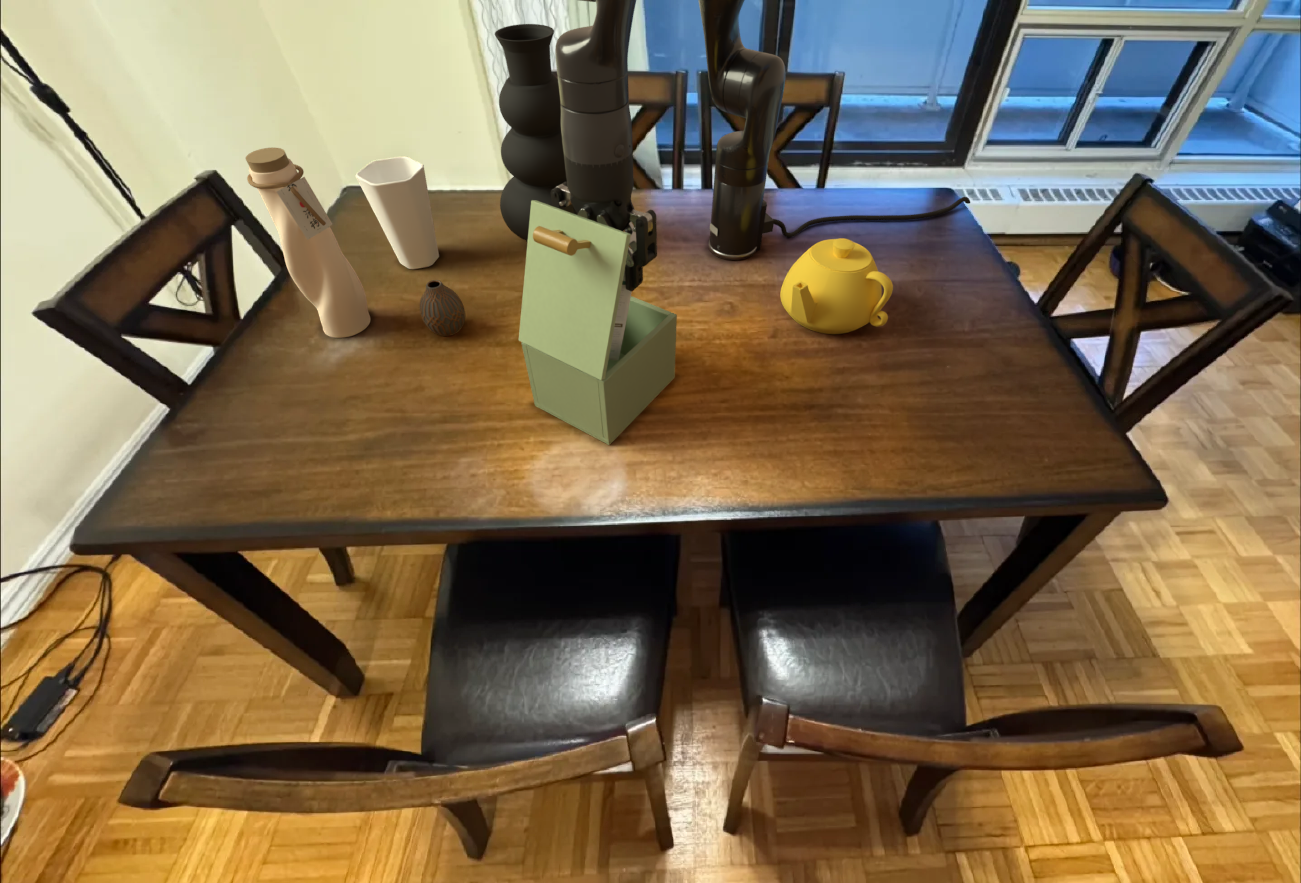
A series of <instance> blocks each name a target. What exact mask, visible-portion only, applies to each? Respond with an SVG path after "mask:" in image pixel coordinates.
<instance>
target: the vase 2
mask: <svg viewBox="0 0 1301 883" xmlns="http://www.w3.org/2000/svg"><path fill="white" fill-rule="evenodd" d="M554 34H555V30H554V28H553V27H551V26H549V25H544V24H540V23H539V24H538V23H520V24H513V25H512V24H511V25H507V26H504V27H501V28H499V29H497V30H496V31H495V32H494V36H495V38H496V39H497V41H498V43H499V44H500V46H501V47H502V50H503V53H504V58H505V61H506V67H507V71H508V77H507V78H506V79H505V81H504V84H503V86H502V87H501V90H500V92H499V98H498V106H499V111H500V115H501V116H502V118H503V120H504V121H505V122H506V124H507V125H508V126H509V127H510V129H509V131H508V132H507V133H506V134H505V136H504V138H503V140H502V143H501V145H500V146H501V147H500V157H501V161H502V163H503V165H504V168H505V169H506V170H507V172H509V174H511V175H512V177H511V178H510V179H509V180H508V181H507V183H506V184H505V186H504V188H503V189H502V191H501V194H500V200H499V208H500V213H501V214H500V215H501V216H502V219H503V221H504V223H505V225H506V227H507V228H508V229H509V230H510V231H511V232H512V233H513V234H514V235H515V236H517V237H518V238H520V239H522V240H524V241H525V242H526V243H528V232H529V221H530V210H531V201H532V200H536V201H539V202H542V203H545V204H547V205H550V206H552V200H551V190H552V189H554V188H555V187H557V186H559V185H560V184H562V183H564V182H567V178H566V169H565V160H564V152H563V143H562V134H561V103H560V94H559V85H558V77H557V76H556V75H554V74H552V60H551V59H552V58H551V43H552V40H553V37H554ZM573 213H574V214H576V215H578V214H577V212H576V210H575V209H574V207H573Z"/></svg>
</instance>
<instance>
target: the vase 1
mask: <svg viewBox="0 0 1301 883" xmlns="http://www.w3.org/2000/svg"><path fill="white" fill-rule="evenodd" d="M419 313H420V317H421V319H422V321H423V324H424V325H425V326H426V328H427V329H428V330H429V331H430V332H432V333H434V334H436V335H438V336H441V337H450V336H453V335H456V334H457V333H459V332H460V330H461V329H462V328H463V327H464V325H465V321H466V309H465V305H464V302H463V301H462V299H461V297H460V296H459V295H458V293H457V292H456V291H454V290H453V289H452V288H450V287H448V286H447V285H445V284H444V283H443V281H441V280H439V279H433V280H430V281H428V282H427V283H426V284H425V289H424V291H423V294H422V295H421V298H420V300H419Z"/></svg>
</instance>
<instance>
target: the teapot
mask: <svg viewBox="0 0 1301 883" xmlns="http://www.w3.org/2000/svg"><path fill="white" fill-rule="evenodd" d="M871 253H872V252H870V251H869V250H868V249H867V248H866V247H865V246H864V245H863V246H862V245H861V244H859V243H857V242H855V241H853V240H851V239H849V238H843V237H842V238H828V239H824V240H821V241H818V242H816V243H814V244H813V245H812V246H811V247H809V248H808V249H807V250H806V251H805V252H804V253H803V254H802V255H800V256H799V258H798V259H797V260H796V261H795V262H794V263H793V264H792V265H791V267H790V269H789V270H788V271H787V273H786V276H784V278H783V282H782V284H781V285H782V286H781V288H780V291H779V292H780V294H779V295H780V301H781V304H782V307H783V308H784V310H785V311H786V313H787V314H788V315H789V317H791V318H792V320H794V322H796V323H797V324H799V325H800V326H802V327H803V328H805V329H807V330H810V331H813V332H816V333H821V334H826V335H827V334H828V335H842V334H847V333H851V332H854V331H856V330H858V329H860V328H862V327H864V326H866V325H868V324H869V323H870V325H871V326H872V327H878V328H879V327H883V326H885V325H886V324H887V322H888V319H889V316H888V314H887V312H886V311H883V310H882V309H883V308H884V307H885V305H886V304H887V302H888V301H889V300H890V298H891V296H892V294H893V291H894V285H893V284H894V283H893V281H892V280H891V278H890V277H889V276H888V275H886V274H885V273H883V272H881V271H879V270H878V267H877V264H876V262H875V259H874V257H873V255H872V254H871ZM882 288H883V289H882ZM882 293H883V294H882Z"/></svg>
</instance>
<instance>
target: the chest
mask: <svg viewBox="0 0 1301 883" xmlns="http://www.w3.org/2000/svg"><path fill="white" fill-rule="evenodd" d="M677 322H678V314H677V313H674V312H671V311H669V310H667V309H664V308H662V307H660V306H658V305H654V304H652V303H650V302H647V301H646V300H642V299H639V298H637V297H635V296H632V295H631V299H630V304H629V309H628V315H627V320H626V325H625V331H624V336H623V341H622V346H621V351H620V356H619V360H608V365H607V371H606V377H605V379H604V380H599V379H597V378H595V377H593V376H591V375H589V374H587V373H585V372H583V371H581V370H579V369H577V368H574V367H572V366H570V365H568V364H566V363H564V362H562V361H560V360H558V359H556V358H554V357H552V356H550V355H548V354H546V353H543V352H541V351H539V350H537V349H535V348H533V347H531V346H529V345H527V344H525V343H523V342H521V348H522V352H523V356H524V363H525V366H526V371H527V375H528V380H529V385H530V389H531V394H532V399H533V404H534V406H535V407H536V408H537V409H539V410H542V411H543V412H546V413H548V414H549V415H551V416H553V417H555V418H557V419H558V420H561V421H563V422H564V423H566V424H568V425H569V426H570V425H571V427H574V428H576V429H578V430H579V431H581V432H583V433H585V434H586V435H589V436H591V437H592V438H594V439H596V440H597V441H600V442H602V443H604V444H606V445H608V446H611V445H612V443H613V442H614V441H615V440H616V439H617V438H618V437H619V436H620V435H621V434H622V433H623V432H624V431H625V430H626V429H627V428H628V426H629V425H630V424H632V422H633V421H634V420H635V419H636V418H638V416H639V415H640V414H641V413H643V411H644V410H645V409H646V408H647V407H649V405H650V404H651V403H652V402H653V401H654V400H655V399H656V398H657V396H658V395H660V394H661V393H662V391H664V389H665V388H666V387H667V386H668V385H669V384H671V382H672V381H673V380H674V379H676V355H677V354H676V349H677V348H676V347H677V325H678V324H677Z"/></svg>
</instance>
